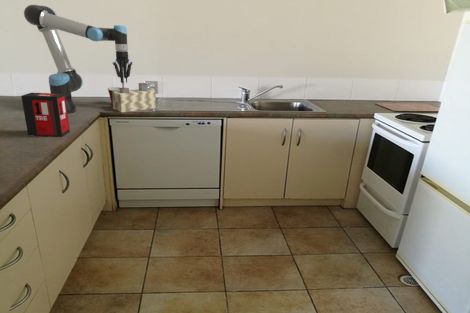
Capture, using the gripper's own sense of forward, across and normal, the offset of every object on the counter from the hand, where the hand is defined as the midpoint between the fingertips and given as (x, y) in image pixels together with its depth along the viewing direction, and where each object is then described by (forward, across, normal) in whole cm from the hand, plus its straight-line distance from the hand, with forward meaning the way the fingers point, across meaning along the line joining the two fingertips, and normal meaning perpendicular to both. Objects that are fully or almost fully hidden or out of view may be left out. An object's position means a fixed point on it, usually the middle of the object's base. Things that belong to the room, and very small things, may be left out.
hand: (124, 87), depth 224 cm
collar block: (+15, +7, 0) cm, 17 cm away
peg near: (+9, 0, 0) cm, 9 cm away
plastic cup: (+15, +2, +18) cm, 24 cm away
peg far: (+7, +14, 0) cm, 16 cm away
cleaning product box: (+15, -57, -30) cm, 67 cm away
